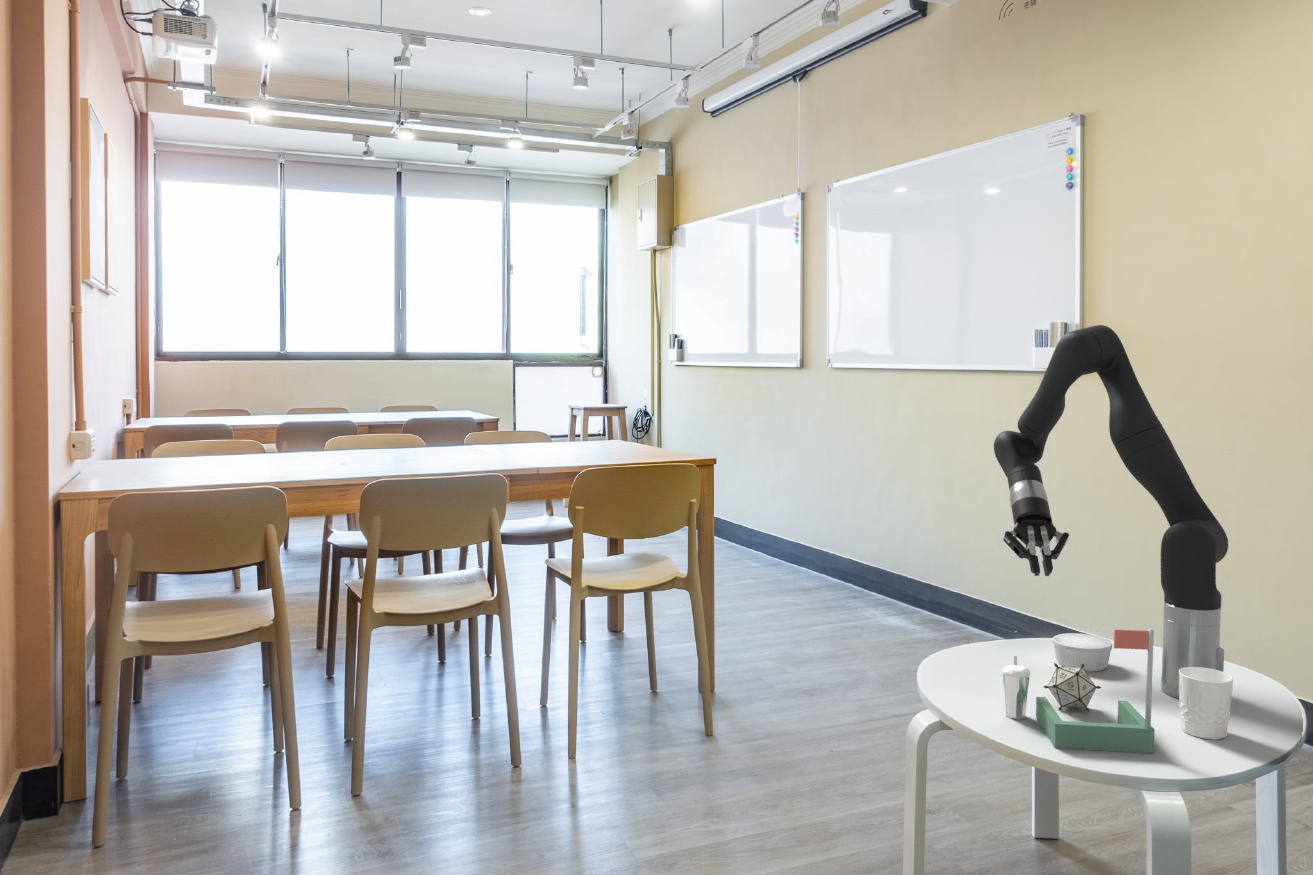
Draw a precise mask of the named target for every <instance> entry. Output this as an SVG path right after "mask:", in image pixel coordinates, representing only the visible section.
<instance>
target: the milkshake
mask: <svg viewBox="0 0 1313 875" xmlns="http://www.w3.org/2000/svg"><path fill="white" fill-rule="evenodd" d="M1030 677H1031V671H1030V669H1029V668H1028V667H1026V666H1023V665H1018V656H1017V655H1014V656H1013V664H1009V665H1006V666H1005V667H1003V669H1002V679H1003V680H1002V681H1003V688H1004V690H1003V691H1004V704H1005V715H1006V717H1008V718H1010V719H1014V720H1022V719H1026V712H1027V701H1028V692H1029V685H1030Z"/></svg>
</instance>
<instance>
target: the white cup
mask: <svg viewBox="0 0 1313 875" xmlns="http://www.w3.org/2000/svg"><path fill="white" fill-rule="evenodd" d="M1233 686H1234V676H1232V675H1231V674H1229V673H1227V672H1224V671H1223V672H1222V671H1218V670H1214V669H1209V668H1202V667H1185V668H1181V669H1180V670H1179V698H1178V700H1179V702H1178V703H1179V713H1180V729H1181V730H1182V731H1183V732H1184V733H1186V734H1188V735H1189V736H1193V737H1195V738H1201V739H1206V740H1222V739H1225V738H1227V736H1228V728H1229V726H1228V725H1229V721H1230V717H1231V716H1230V715H1231V707H1232V699H1233V698H1232V697H1233V689H1234V688H1233Z"/></svg>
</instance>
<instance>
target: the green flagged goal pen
mask: <svg viewBox="0 0 1313 875" xmlns="http://www.w3.org/2000/svg"><path fill="white" fill-rule="evenodd" d="M1154 631H1155V630H1154V629H1152V628H1148V629H1147V630H1146V629H1145V630H1141V629H1139V630H1138V629H1115V628H1114V630H1113V649H1124V650H1125V649H1126V650H1146V651H1147V654H1146V681H1145V682H1146V683H1145V684H1146V685H1145V716H1144V717H1143V715H1142V714H1141V713H1140V712H1139V711H1137V709H1136V708H1135V707H1134V706H1133V705H1132V703H1130V702H1129V701H1128V700H1118V701H1117V723H1111V722H1110V723H1105V722H1090V721H1089V722H1088V721H1087V722H1085V721H1072V720H1071V721H1070V720H1062V718H1061V716H1060V715H1059V714H1058V712H1057V711H1056V710H1055V709H1054V707H1053V706H1052V704H1051V702H1050V701H1049V700H1048V698H1047V697H1046V696H1036V698H1035V700H1036V701H1035V720H1036V721H1037V723H1038V725H1039V726H1040V727H1041V729H1042V730H1043V732H1044V733H1045V735H1046V737H1047V738H1048V740H1049V741H1050V743H1051V744H1052V746H1053V747H1054V748H1055V749H1070V750H1071V749H1072V750H1088V751H1102V752H1118V753H1120V752H1121V753H1138V754H1139V753H1140V754H1152V755H1153V754H1155V731H1156V730H1155V728H1154V727H1153V725H1151V724H1152V698H1153V696H1152V695H1153V694H1152V692H1153V671H1154V670H1153V665H1154V637H1155V635H1154V634H1155V633H1154Z"/></svg>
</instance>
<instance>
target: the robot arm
mask: <svg viewBox="0 0 1313 875" xmlns="http://www.w3.org/2000/svg"><path fill="white" fill-rule="evenodd" d="M1094 373H1096V374H1097V375H1098V377H1099V379H1100V380H1101V382H1102V385H1103V386H1104V388H1105V390H1106V392H1107V395H1108V401H1109V417H1108V418H1109V419H1108V420H1109V421H1108V423H1109V424H1108V426H1109V427H1108V429H1109V430H1108V431H1109V437H1110V440H1111V442H1112V445H1113V446H1114V448H1115V450H1116V452H1117V454H1118V456H1119V457H1120V459H1121V461H1122V464H1123V465H1124V466H1125V467H1126V470H1128V472H1129V473H1130V474H1131V475H1132V477H1133V478H1134V479H1135V480H1136V481H1137V482H1138V483H1139V484H1140V485H1141V486H1142V487H1143V488H1144V489H1145V490H1146V491H1147V492H1148V494H1149V495H1151V496H1152V498H1153V499H1154V500H1155V501H1156V502H1157V504H1158V506H1159V507H1160V509H1161V511H1162V513H1163V514H1164V516H1165V518H1166V521H1167V523H1168V525H1169V527H1168V528H1166V530H1165V532H1164V534H1163V536H1162V539H1161V544H1160V585H1161V589H1162V591H1163V595H1164V596H1163V598H1164V600H1163V627H1162V628H1163V630H1162V656H1161V657H1162V658H1161V659H1162V660H1161V676H1160V677H1161V679H1160V680H1161V681H1160V682H1161V690H1162V692H1163V693H1164V694H1167V695H1168V696H1171V697H1174V698H1177V699H1179V670H1180V669H1181V668H1185V667H1202V668H1209V669H1214V670H1218V671H1222V672H1224V669H1225V668H1224V665H1225V663H1224V662H1225V650H1224V648H1222V647H1221V646H1220V643H1221V614H1222V611H1221V610H1222V593H1221V592H1220V591H1219V589H1218V588H1217V578H1216V576H1217V570H1216V569H1217V567H1216V566H1217V563H1219V562H1221V561H1222V560H1223V559H1224V558H1225V556H1226V555H1227V553H1228V550H1229V539H1228V538H1229V537H1228V536H1227V533H1226V531H1225V529H1224V527H1223V526H1222V525H1221V524H1220V522H1219V521H1218V519H1217V517H1216V516H1215V515H1214V513H1213V512H1212V511H1211V509H1210V507H1208V505H1207V504H1206V502H1205V500H1203V498H1202V497H1201V495H1200V493H1199V492H1198V491H1197V489H1196V486H1195V485H1194V483H1193V481H1192V480H1191V477H1190V474H1189V473H1188V471H1187V469H1186V468H1185V465H1184V463H1183V461H1182V460H1181V458H1180V456H1179V454H1178V452H1177V451H1176V449H1175V446H1174V445H1173V443H1172V440H1171V439H1170V437H1169V435H1168V434H1167V431H1166V429H1165V428H1164V426H1163V425H1162V422H1160V420H1159V418H1158V416H1157V415H1156V413H1155V410H1154V409H1153V407H1152V405H1151V404H1150V402H1149V400H1148V397H1147V395H1146V393H1145V392H1144V390H1143V388H1142V386H1141V385H1140V382H1139V380H1138V377H1137V375H1136V373H1135V370H1134V369H1133V366H1132V363H1131V361H1130V359H1129V357H1128V354H1127V351H1126V349H1125V347H1124V345H1123V343H1122V341H1121V339H1120V337H1119V336H1118V335H1117V333H1116V331H1114V330H1113V329H1112V328H1110V327H1109V326H1107V325H1104V324H1098V325H1093V326H1091V325H1090V326H1088V327H1083V328H1079V329H1076V330H1072V331H1069V332H1067V333H1065V334H1064V335H1063V336H1062V337H1061V338H1060V339H1059V340H1058V342H1057V344H1056V346H1055V348H1054V351H1053V353H1052V355H1051V357H1050V361H1049V363H1048V365H1047V367H1046V369H1045V372H1044V375H1043V377H1042V380H1041V382H1040V384H1039V387H1038V388H1037V391H1036V392H1035V394H1034V395H1033V397H1032V399H1031V400H1030V402H1029V403H1028V405H1026V408H1025V409H1024V411H1022V414H1021V415H1020V416H1019V418H1018V421H1017V429H1018V431H1019V432H1018V431H1012V430H1003V431H1002V432H1000V433H998V435H996V437H995V439H994V442H993V453H994V455H995V458H996V460H997V462H998V464H999V466H1000V468H1001V470H1002V472H1003V473H1004V475H1005V476H1006V478H1007V484H1008V490H1009V504H1010V509H1011V513H1012V519H1013V523H1014V524H1013V525H1014V527H1013V529H1012V530H1011V531H1010V530H1006V531H1005V532H1004V536H1003V542H1004V543H1005V544H1006V545H1007V546H1008V547H1009V548H1010V550H1012V552H1013V553H1015V554H1016V556H1017V557H1018V558H1019V559H1026V560H1027V561H1028V563H1029V568H1030V572H1031V574H1034V576H1035V577H1039V576H1040V573H1041V565H1040V562H1039V556H1038V555H1037V550H1036V549H1037V548H1036V547H1038V548H1039V553H1041V557H1042V567H1043V574H1044V577H1050V575H1051V574H1052V573H1053V570H1054V565H1053V560H1057V559H1058V558H1059V556H1060V555H1061V552H1062V551H1063V549H1064V547H1065V545H1066V544H1067V542H1068V539H1069V537H1070V533H1068V532H1066V531H1064V532H1060V531H1058V530H1057V528H1056V526H1055V525H1054V523H1053V519H1052V515H1051V510H1050V505H1049V501H1048V495H1047V492H1046V490H1045V487H1044V482H1043V478H1042V472H1041V470H1040V468H1039V467H1038V465H1037V463H1038V462H1040V461H1041V459H1042V458H1043V456H1044V452H1045V446H1046V443H1047V441H1048V437H1049V435H1050V433H1052V432H1051V431H1052V430H1053V429H1054V428H1055V426H1056V425H1057V424H1058V422H1059V421H1060V419H1061V418H1062V416H1063V413H1064V412H1065V408H1066V395H1067V392H1068V390H1069V389H1070V387H1071V386H1072V385H1073V384H1074V383H1075V382H1076V381H1077V380H1078V379H1080V378H1081V377H1082V376H1085V375H1090V374H1094ZM1053 538H1055V542H1056V545H1055V547H1053V549H1052V550H1051V546H1050V545H1051V544H1050V543H1051V541H1052V540H1053ZM1018 539H1019V540H1020V541H1019V540H1018ZM1022 543H1023V544H1024V545H1025V546H1024V545H1023V544H1022Z"/></svg>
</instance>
